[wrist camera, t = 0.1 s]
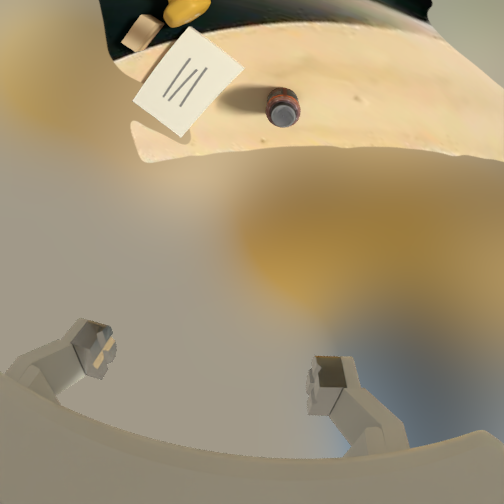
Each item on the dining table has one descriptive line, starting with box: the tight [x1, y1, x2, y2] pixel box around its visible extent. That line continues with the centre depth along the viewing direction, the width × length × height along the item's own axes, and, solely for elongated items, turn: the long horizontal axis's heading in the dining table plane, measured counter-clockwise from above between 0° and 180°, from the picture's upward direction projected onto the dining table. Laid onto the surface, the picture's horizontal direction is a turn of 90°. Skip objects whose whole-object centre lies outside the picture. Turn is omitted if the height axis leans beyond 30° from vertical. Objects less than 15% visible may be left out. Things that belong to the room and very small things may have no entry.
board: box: [133, 27, 245, 137], centre depth 47 cm, size 20×14×2 cm
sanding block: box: [121, 14, 164, 52], centre depth 38 cm, size 7×4×4 cm, turn 137°
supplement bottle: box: [266, 88, 300, 127], centre depth 46 cm, size 6×6×11 cm
